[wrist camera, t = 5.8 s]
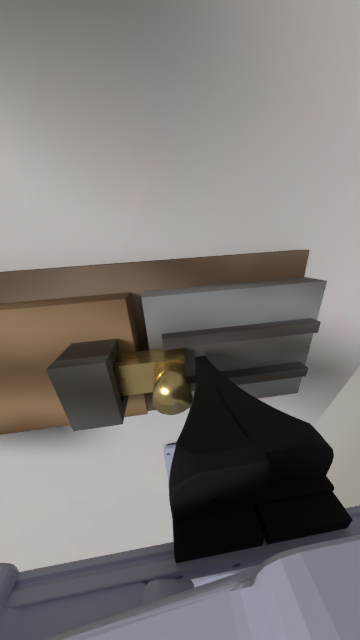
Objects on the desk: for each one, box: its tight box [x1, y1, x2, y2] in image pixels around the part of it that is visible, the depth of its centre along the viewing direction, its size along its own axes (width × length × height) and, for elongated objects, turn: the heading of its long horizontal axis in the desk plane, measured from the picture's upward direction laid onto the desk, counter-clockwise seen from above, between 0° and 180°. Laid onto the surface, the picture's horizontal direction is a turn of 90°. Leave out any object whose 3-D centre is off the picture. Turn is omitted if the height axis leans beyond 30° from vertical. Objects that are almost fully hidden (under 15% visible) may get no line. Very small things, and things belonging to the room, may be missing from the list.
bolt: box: [112, 348, 193, 415], centre depth 11 cm, size 2×8×4 cm, turn 94°
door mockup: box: [0, 250, 327, 435], centre depth 13 cm, size 14×26×6 cm, turn 94°
